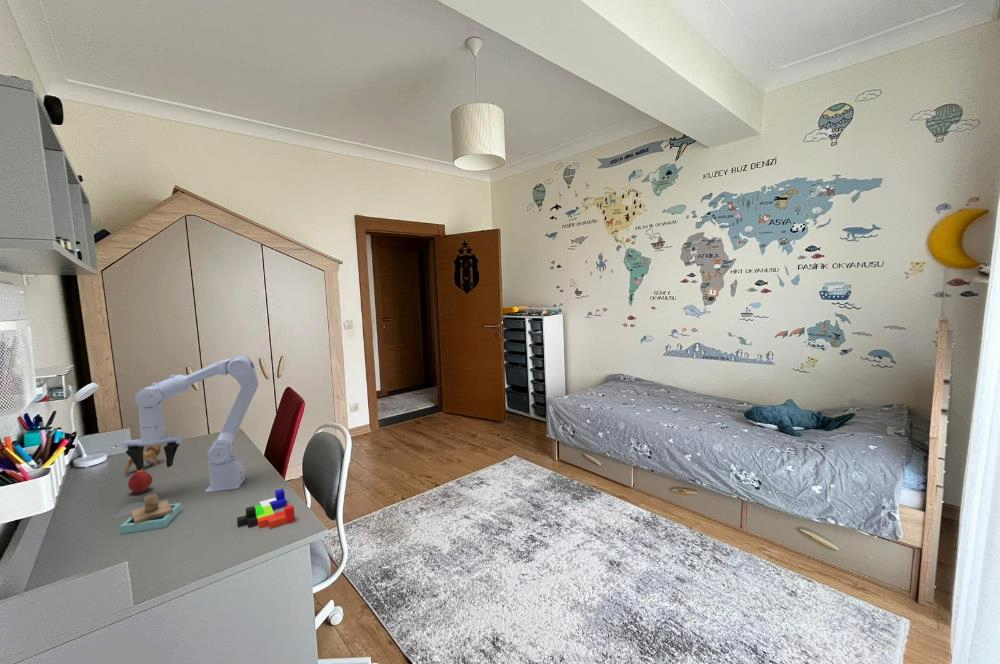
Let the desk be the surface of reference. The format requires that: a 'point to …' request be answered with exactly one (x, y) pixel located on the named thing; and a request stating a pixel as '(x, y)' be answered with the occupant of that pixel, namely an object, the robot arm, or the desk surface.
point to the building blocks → (268, 513)
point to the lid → (151, 509)
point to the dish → (150, 522)
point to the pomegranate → (140, 481)
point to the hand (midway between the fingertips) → (155, 467)
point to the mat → (132, 508)
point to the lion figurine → (146, 457)
